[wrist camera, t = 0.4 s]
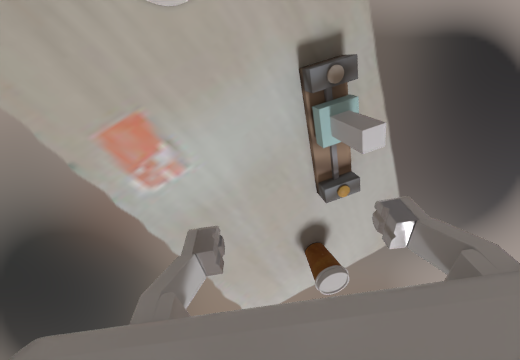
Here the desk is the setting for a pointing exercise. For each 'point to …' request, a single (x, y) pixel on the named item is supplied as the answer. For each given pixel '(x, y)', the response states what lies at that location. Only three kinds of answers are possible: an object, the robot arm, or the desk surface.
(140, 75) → the desk surface
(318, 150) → the rail
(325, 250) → the disposable coffee cup
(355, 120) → the block
